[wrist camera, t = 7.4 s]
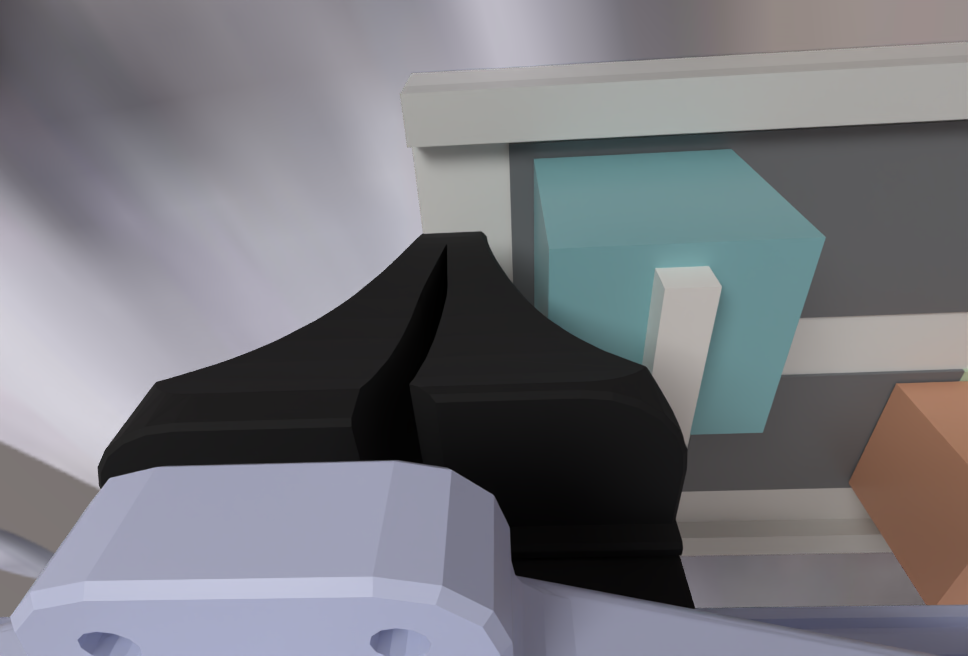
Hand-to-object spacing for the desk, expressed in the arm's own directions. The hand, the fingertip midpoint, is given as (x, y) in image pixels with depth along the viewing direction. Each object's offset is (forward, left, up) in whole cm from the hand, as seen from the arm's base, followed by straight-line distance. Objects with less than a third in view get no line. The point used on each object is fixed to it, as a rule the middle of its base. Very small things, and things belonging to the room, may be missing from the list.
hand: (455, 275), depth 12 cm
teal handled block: (-4, 0, -1) cm, 4 cm away
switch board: (-7, +4, -3) cm, 9 cm away
